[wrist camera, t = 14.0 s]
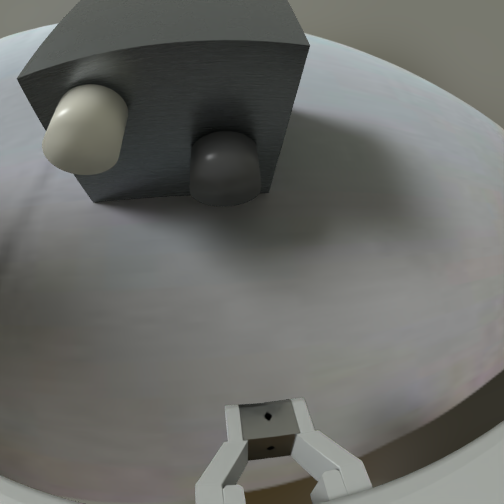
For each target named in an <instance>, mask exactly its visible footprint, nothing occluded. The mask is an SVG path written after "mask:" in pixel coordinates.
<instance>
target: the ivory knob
mask: <svg viewBox="0 0 504 504" xmlns="http://www.w3.org/2000/svg"><path fill="white" fill-rule="evenodd" d="M127 119H128V107H127V105H126V103H125V101H124V100H123V98H122V97H121V96H120V95H119V94H118V93H116V92H115V91H113V90H112V89H110V88H107V87H105V86H101V85H95V84H86V85H80V86H77V87H75V88H72V89H71V90H69V91H68V92H66V93H65V94H64V95H63V96H62V98H61V99H60V101H59V104H58V106H57V108H56V110H55V112H54V115H53V117H52V119H51V121H50V124H49V126H48V129H47V131H46V134H45V136H44V139H43V142H42V149H43V153H44V155H45V156H46V158H47V159H48V161H50V162H51V163H52V164H53V165H54V166H56V167H57V168H59V169H61V170H63V171H66V172H69V173H73V174H78V175H94V174H99V173H102V172H105V171H107V170H109V169H110V168H112V167H113V166H114V165H115V164H116V162H117V161H118V158H119V154H120V149H121V145H122V140H123V136H124V131H125V127H126V123H127Z"/></svg>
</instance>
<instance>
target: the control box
mask: <svg viewBox="0 0 504 504" xmlns="http://www.w3.org/2000/svg"><path fill="white" fill-rule="evenodd" d="M309 47H310V45H309V42H308V40H307V38H306V36H305V34H304V32H303V30H302V28H301V26H300V24H299V22H298V20H297V18H296V16H295V14H294V12H293V11H292V8H291V6H290V5H289V3H288V1H287V0H81V1H80V2H79V3H78V4H77V5H76V6H75V7H74V8H73V9H72V10H71V11H70V12H69V13H68V14H67V15H66V16H65V17H64V18H63V19H62V21H61V22H60V23H59V24H58V25H57V26H56V27H55V29H54V30H53V31H52V32H51V33H50V34H49V36H48V37H47V38H46V39H45V41H44V42H43V43H42V44H41V46H40V47H39V48H38V50H37V51H36V52H35V53H34V55H33V56H32V58H31V59H30V60H29V62H28V63H27V64H26V66H25V67H24V69H23V70H22V72H21V73H20V75H19V76H18V78H17V80H18V82H19V84H20V86H21V88H22V90H23V91H24V93H25V95H26V97H27V99H28V101H29V102H30V104H31V106H32V108H33V110H34V111H35V113H36V115H37V117H38V118H39V120H40V122H41V123H42V125H43V127H44V128H45V130H46V131H47V129H48V126H49V124H50V121H51V119H52V117H53V115H54V112H55V110H56V108H57V106H58V104H59V101H60V99H61V98H62V96H63V95H64V94H65V93H66V92H68V91H69V90H71V89H72V88H75V87H77V86H80V85H86V84H95V85H101V86H105V87H107V88H110V89H112V90H113V91H115V92H116V93H118V94H119V95H120V96H121V97H122V98H123V100H124V101H125V103H126V105H127V107H128V119H127V123H126V127H125V131H124V136H123V140H122V145H121V149H120V154H119V158H118V161H117V162H116V164H115V165H114V166H113V167H112V168H110V169H109V170H107V171H105V172H102V173H99V174H94V175H78V174H74V176H75V177H76V178H77V180H78V181H79V183H80V184H81V186H82V187H83V189H84V190H85V191H86V193H87V194H88V196H89V197H90V199H91V200H92V201H93V202H101V201H111V200H123V199H135V198H149V197H164V196H181V195H191V194H190V158H191V149H192V146H193V145H194V143H195V142H196V141H197V140H198V139H200V138H201V137H203V136H205V135H207V134H210V133H214V132H219V131H232V132H238V133H241V134H244V135H246V136H248V137H249V138H251V139H252V140H253V141H254V142H255V144H256V146H257V152H258V160H259V169H260V178H261V191H260V192H259V193H269V189H270V186H271V182H272V179H273V175H274V172H275V168H276V164H277V161H278V157H279V154H280V150H281V147H282V143H283V140H284V136H285V132H286V129H287V125H288V122H289V118H290V115H291V111H292V108H293V104H294V100H295V97H296V93H297V90H298V86H299V83H300V79H301V76H302V72H303V69H304V65H305V61H306V58H307V54H308V51H309Z"/></svg>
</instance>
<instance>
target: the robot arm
mask: <svg viewBox="0 0 504 504" xmlns="http://www.w3.org/2000/svg"><path fill="white" fill-rule="evenodd" d="M225 416H226V427H227V437H228V442H224V443H223V444H222V446H221V447H220V449H219V451H218V452H217V454H216V455H215V457H214V458H213V460H212V461H211V463H210V464H209V466H208V467H207V469H206V470H205V471H204V473H203V474H202V476H201V477H200V479H199V480H198V482H197V483H196V485H195V499H196V504H246V502H245V496H244V490H243V487H242V486H240V485H236V483H237V482H238V480H239V478H240V476H241V474H242V472H243V470H244V468H245V466H246V465H247V463H248V461H249V460H257V459H265V458H273V457H281V456H289V455H291V457H292V458H293V459H294V460H295V461H296V462H297V463H298V464H300V465H301V466H302V467H303V468H304V469H305V470H306V471H307V472H308V473H309V474H310V475H311V476H312V477H314V478H315V479H316V480H317V481H318V483H317V485H316V486H315V488H314V490H313V491H312V493H311V494H310V496H311V500H312V503H313V504H504V421H502V422H501V423H500V424H498V425H497V426H495V427H494V428H493V429H491V430H489V431H488V432H486V433H485V434H483V435H482V436H480V437H478V438H477V439H475V440H474V441H472V442H470V443H469V444H467V445H465V446H464V447H462V448H460V449H459V450H457V451H455V452H453V453H451V454H449V455H447V456H446V457H444V458H442V459H440V460H438V461H436V462H434V463H432V464H430V465H428V466H425V467H423V468H421V469H419V470H417V471H415V472H412V473H410V474H408V475H405V476H403V477H401V478H398V479H395V480H393V481H390V482H388V483H385V484H382V485H380V486H377V487H374V488H373V487H372V484H371V482H370V479H369V477H368V474H367V472H366V469H365V467H364V465H363V462H362V461H361V460H360V459H358V458H357V457H355V456H354V455H353V454H351V453H350V452H348V451H347V450H345V449H344V448H343V447H341V446H340V445H338V444H337V443H336V442H334V441H333V440H331V439H330V438H329V437H327V436H326V435H325V434H323V433H322V432H321V431H319V430H316V431H315V429H314V426H313V423H312V420H311V417H310V414H309V411H308V408H307V405H306V402H305V399H304V398H303V397H301V398H295V399H286V400H279V401H271V402H264V403H255V404H241V405H225ZM0 504H84V503H80V502H76V501H73V500H69V499H65V498H62V497H58V496H55V495H52V494H49V493H46V492H43V491H40V490H37V489H34V488H31V487H28V486H26V485H23V484H21V483H18V482H16V481H13V480H11V479H9V478H6V477H4V476H1V475H0Z"/></svg>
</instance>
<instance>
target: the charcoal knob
mask: <svg viewBox="0 0 504 504" xmlns="http://www.w3.org/2000/svg"><path fill="white" fill-rule="evenodd" d="M260 191H261V178H260V169H259V160H258V152H257V146H256V144H255V142H254V141H253V140H252V139H251V138H249V137H248V136H246V135H244V134H241V133H238V132H232V131H219V132H214V133H210V134H207V135H205V136H203V137H201V138H200V139H198V140H197V141H196V142H195V143H194V145H193V146H192V149H191V158H190V194H191V195H192V197H193V198H194V199H196V200H197V201H199V202H201V203H204V204H207V205H212V206H234V205H239V204H242V203H245V202H248V201H250V200H252V199H253V198H255V197H256V196H257V195H258V194H259V192H260Z"/></svg>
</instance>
